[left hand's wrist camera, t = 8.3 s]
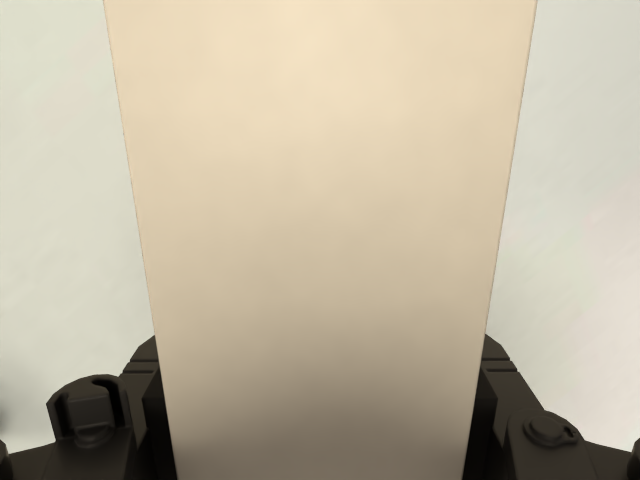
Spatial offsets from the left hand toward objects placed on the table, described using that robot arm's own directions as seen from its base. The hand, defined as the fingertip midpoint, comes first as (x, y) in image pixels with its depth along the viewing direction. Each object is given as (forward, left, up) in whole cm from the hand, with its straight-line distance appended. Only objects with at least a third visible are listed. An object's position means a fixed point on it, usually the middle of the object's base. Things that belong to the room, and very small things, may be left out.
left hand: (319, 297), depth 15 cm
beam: (+27, +6, -1) cm, 27 cm away
